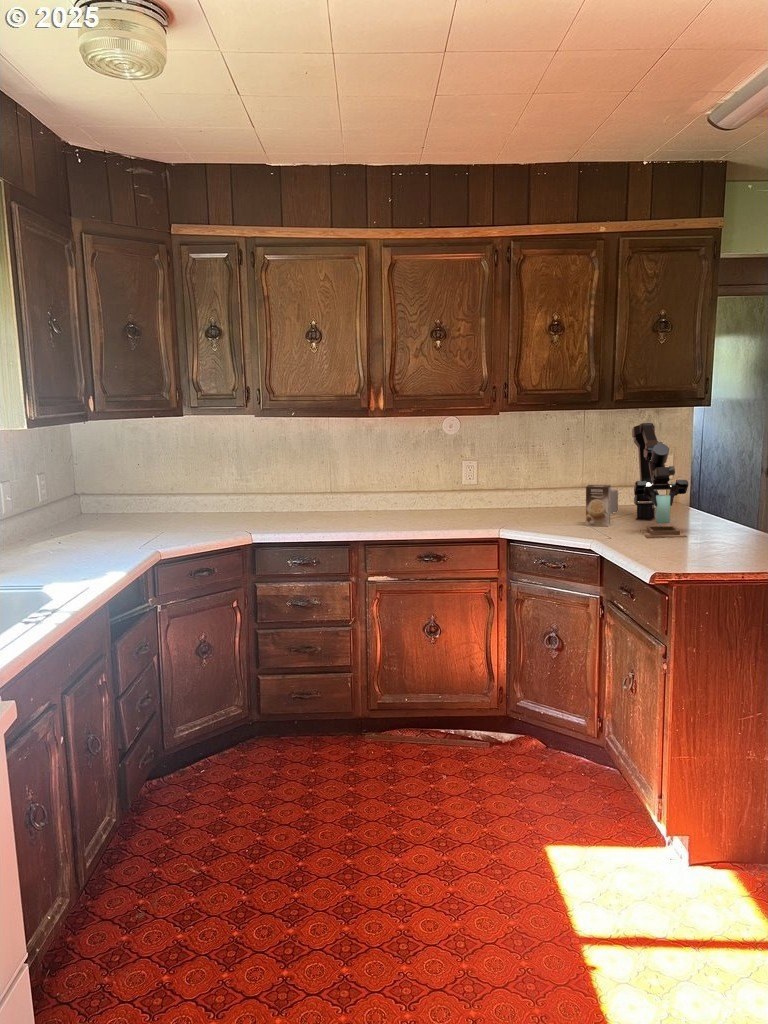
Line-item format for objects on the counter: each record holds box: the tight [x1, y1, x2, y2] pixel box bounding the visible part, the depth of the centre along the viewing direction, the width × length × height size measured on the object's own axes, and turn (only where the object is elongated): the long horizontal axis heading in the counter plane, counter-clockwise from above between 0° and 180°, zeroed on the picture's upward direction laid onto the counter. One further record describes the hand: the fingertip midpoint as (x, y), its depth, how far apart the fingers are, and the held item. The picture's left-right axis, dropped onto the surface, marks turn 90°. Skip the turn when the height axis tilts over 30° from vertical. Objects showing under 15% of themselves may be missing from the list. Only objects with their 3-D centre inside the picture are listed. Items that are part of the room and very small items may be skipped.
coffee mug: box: [610, 488, 619, 513], centre depth 341 cm, size 13×10×10 cm
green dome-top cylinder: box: [655, 494, 671, 525], centre depth 284 cm, size 5×5×10 cm
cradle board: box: [639, 525, 688, 539], centre depth 285 cm, size 14×14×2 cm
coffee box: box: [585, 484, 612, 527], centre depth 309 cm, size 9×6×16 cm
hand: (663, 505), depth 282 cm, fingers closed on green dome-top cylinder, 5 cm apart
